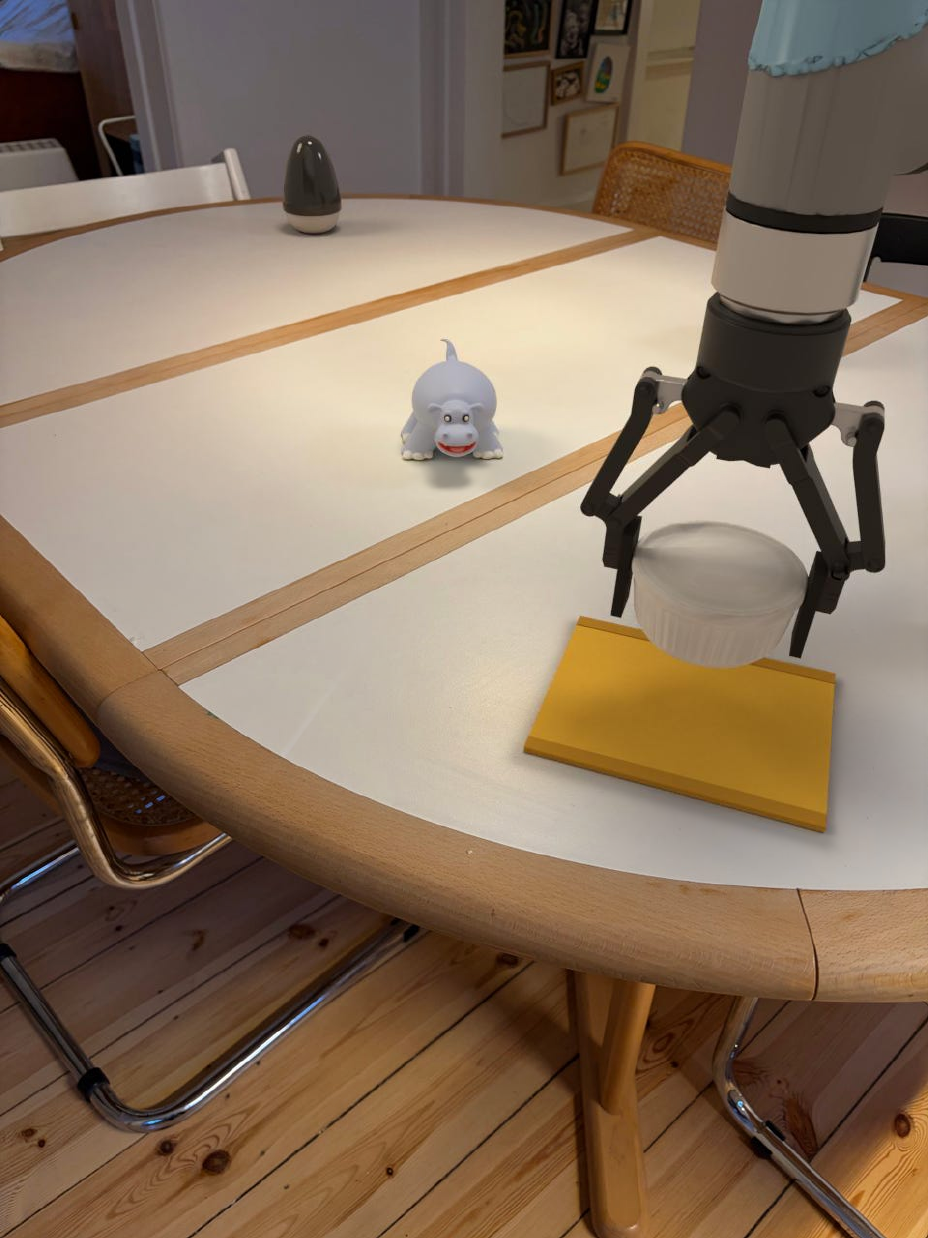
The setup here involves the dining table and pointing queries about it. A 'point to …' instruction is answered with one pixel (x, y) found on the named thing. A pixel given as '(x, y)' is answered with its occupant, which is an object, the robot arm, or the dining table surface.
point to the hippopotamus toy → (452, 412)
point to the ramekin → (715, 591)
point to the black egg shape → (310, 187)
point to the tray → (691, 724)
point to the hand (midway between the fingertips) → (705, 625)
